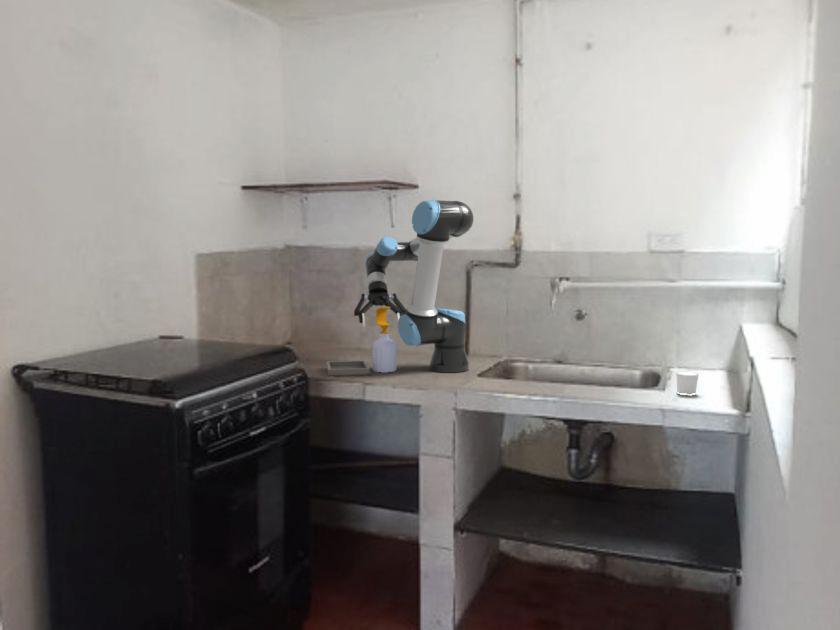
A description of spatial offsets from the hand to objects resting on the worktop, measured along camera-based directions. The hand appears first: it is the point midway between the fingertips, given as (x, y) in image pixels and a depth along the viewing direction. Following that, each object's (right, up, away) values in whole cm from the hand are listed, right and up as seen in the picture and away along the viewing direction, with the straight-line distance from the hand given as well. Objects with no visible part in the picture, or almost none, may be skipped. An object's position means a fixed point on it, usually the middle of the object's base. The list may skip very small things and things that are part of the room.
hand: (382, 328), depth 272 cm
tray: (-13, -16, -4) cm, 21 cm away
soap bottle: (+1, -16, -1) cm, 16 cm away
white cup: (+102, -21, -38) cm, 111 cm away
